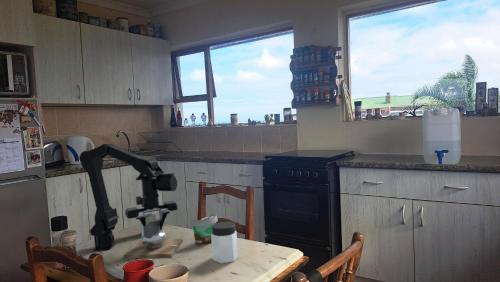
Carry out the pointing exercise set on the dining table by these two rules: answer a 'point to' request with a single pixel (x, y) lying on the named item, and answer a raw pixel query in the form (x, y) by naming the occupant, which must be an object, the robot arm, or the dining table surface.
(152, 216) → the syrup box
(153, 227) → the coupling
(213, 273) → the dining table surface
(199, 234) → the food container
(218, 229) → the jar
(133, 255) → the brown flat slab
